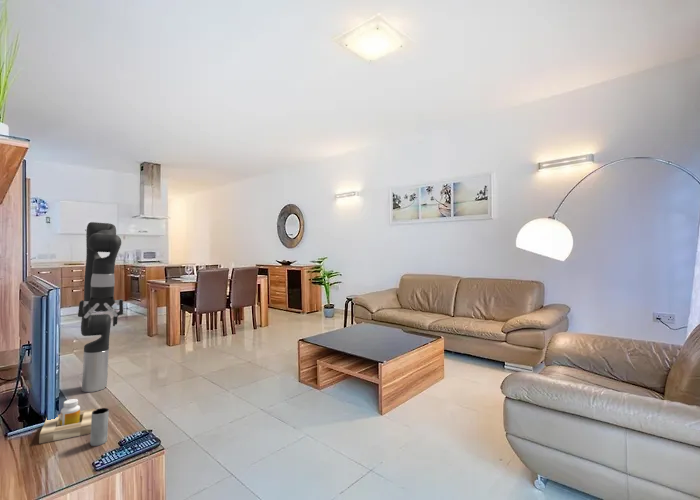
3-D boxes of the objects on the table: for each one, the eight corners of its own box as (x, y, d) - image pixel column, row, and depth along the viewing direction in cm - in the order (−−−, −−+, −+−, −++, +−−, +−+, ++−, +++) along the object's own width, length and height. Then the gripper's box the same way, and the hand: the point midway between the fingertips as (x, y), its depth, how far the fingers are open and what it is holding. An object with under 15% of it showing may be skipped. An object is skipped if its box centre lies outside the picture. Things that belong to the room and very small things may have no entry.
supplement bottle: (83, 425, 124) (84, 398, 124) (69, 433, 119) (71, 404, 119) (69, 424, 125) (70, 397, 125) (55, 432, 119) (56, 403, 120)
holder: (46, 424, 124) (47, 416, 124) (95, 416, 131) (95, 408, 131) (39, 443, 112) (39, 434, 112) (92, 432, 120) (93, 424, 120)
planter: (108, 437, 117) (110, 407, 117) (104, 444, 113) (106, 413, 113) (92, 439, 115) (94, 408, 116) (88, 447, 111) (89, 414, 111)
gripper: (124, 284, 143) (122, 323, 142) (80, 284, 135) (78, 326, 135) (124, 285, 136) (122, 327, 136) (78, 286, 128) (76, 330, 128)
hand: (100, 326), depth 135 cm, fingers open, 8 cm apart
